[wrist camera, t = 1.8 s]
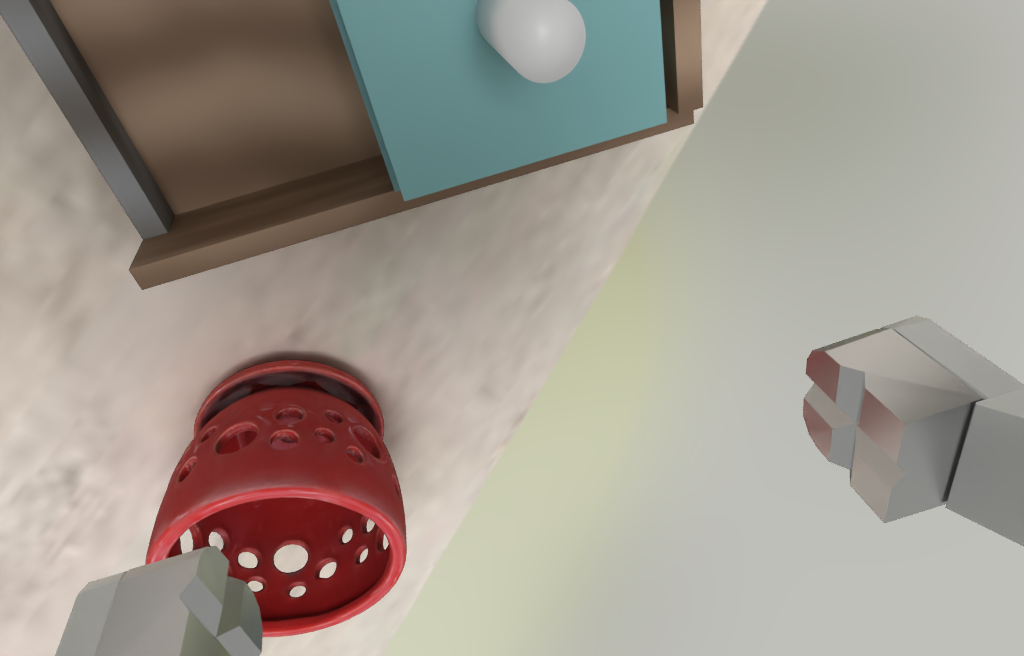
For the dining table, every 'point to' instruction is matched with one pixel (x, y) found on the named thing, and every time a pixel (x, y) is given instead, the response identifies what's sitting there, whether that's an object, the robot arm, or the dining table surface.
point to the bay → (248, 119)
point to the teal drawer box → (500, 81)
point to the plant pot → (291, 491)
